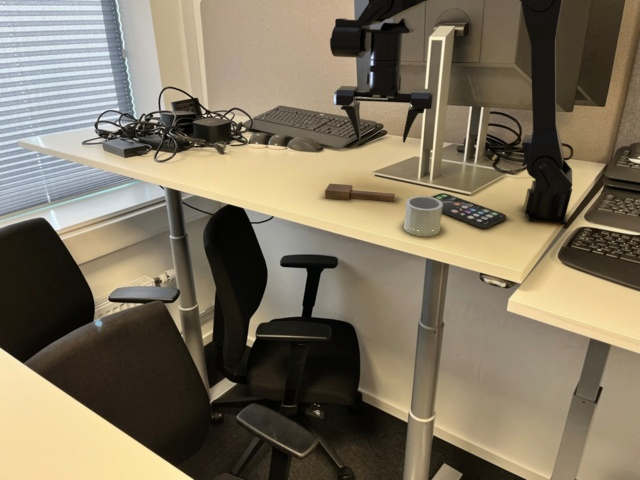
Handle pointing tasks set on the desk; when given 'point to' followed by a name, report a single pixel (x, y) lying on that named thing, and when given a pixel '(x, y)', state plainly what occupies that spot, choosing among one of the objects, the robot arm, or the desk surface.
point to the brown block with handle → (355, 193)
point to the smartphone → (469, 211)
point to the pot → (423, 215)
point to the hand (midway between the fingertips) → (381, 140)
